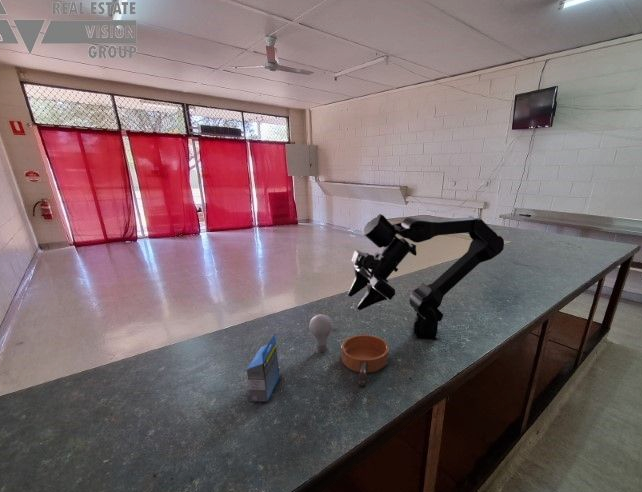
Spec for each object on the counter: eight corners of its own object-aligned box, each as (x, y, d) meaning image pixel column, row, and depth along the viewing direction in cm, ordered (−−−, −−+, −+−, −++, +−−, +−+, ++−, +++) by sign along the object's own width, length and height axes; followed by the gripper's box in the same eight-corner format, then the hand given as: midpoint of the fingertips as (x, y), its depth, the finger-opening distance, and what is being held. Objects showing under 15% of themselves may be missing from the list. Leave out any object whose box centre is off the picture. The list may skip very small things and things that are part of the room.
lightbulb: (336, 348, 88) (336, 312, 85) (326, 359, 83) (326, 322, 79) (317, 343, 90) (315, 309, 86) (306, 355, 85) (304, 318, 81)
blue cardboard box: (264, 375, 76) (259, 330, 72) (280, 376, 76) (276, 331, 72) (250, 401, 68) (243, 352, 63) (268, 402, 68) (262, 353, 63)
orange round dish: (387, 348, 89) (388, 335, 88) (388, 374, 78) (389, 361, 76) (344, 346, 89) (344, 333, 88) (339, 372, 78) (339, 359, 77)
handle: (367, 366, 77) (367, 359, 77) (366, 390, 69) (366, 383, 68) (360, 365, 77) (360, 359, 77) (357, 390, 69) (358, 383, 68)
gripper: (358, 232, 89) (324, 274, 90) (381, 248, 72) (339, 300, 74) (385, 255, 94) (352, 295, 95) (412, 275, 78) (372, 323, 79)
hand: (353, 302), depth 86 cm, fingers open, 9 cm apart
